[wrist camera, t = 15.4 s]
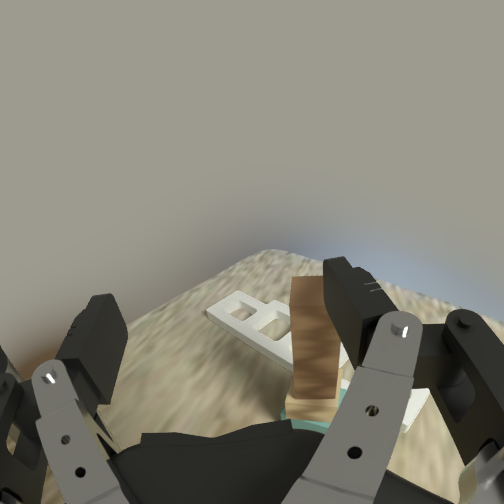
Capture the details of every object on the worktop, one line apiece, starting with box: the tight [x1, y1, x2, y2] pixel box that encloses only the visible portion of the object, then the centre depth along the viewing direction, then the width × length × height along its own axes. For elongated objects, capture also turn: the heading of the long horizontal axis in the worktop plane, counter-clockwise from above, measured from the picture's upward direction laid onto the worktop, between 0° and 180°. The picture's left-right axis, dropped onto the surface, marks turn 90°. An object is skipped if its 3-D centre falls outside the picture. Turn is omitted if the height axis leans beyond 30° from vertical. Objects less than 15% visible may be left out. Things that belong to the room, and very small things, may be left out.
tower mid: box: [285, 368, 343, 423], centre depth 38 cm, size 6×6×4 cm
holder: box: [206, 290, 430, 433], centre depth 54 cm, size 45×18×3 cm, turn 43°
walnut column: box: [289, 276, 341, 399], centre depth 34 cm, size 5×5×15 cm
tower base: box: [280, 388, 346, 434], centre depth 40 cm, size 7×7×4 cm
